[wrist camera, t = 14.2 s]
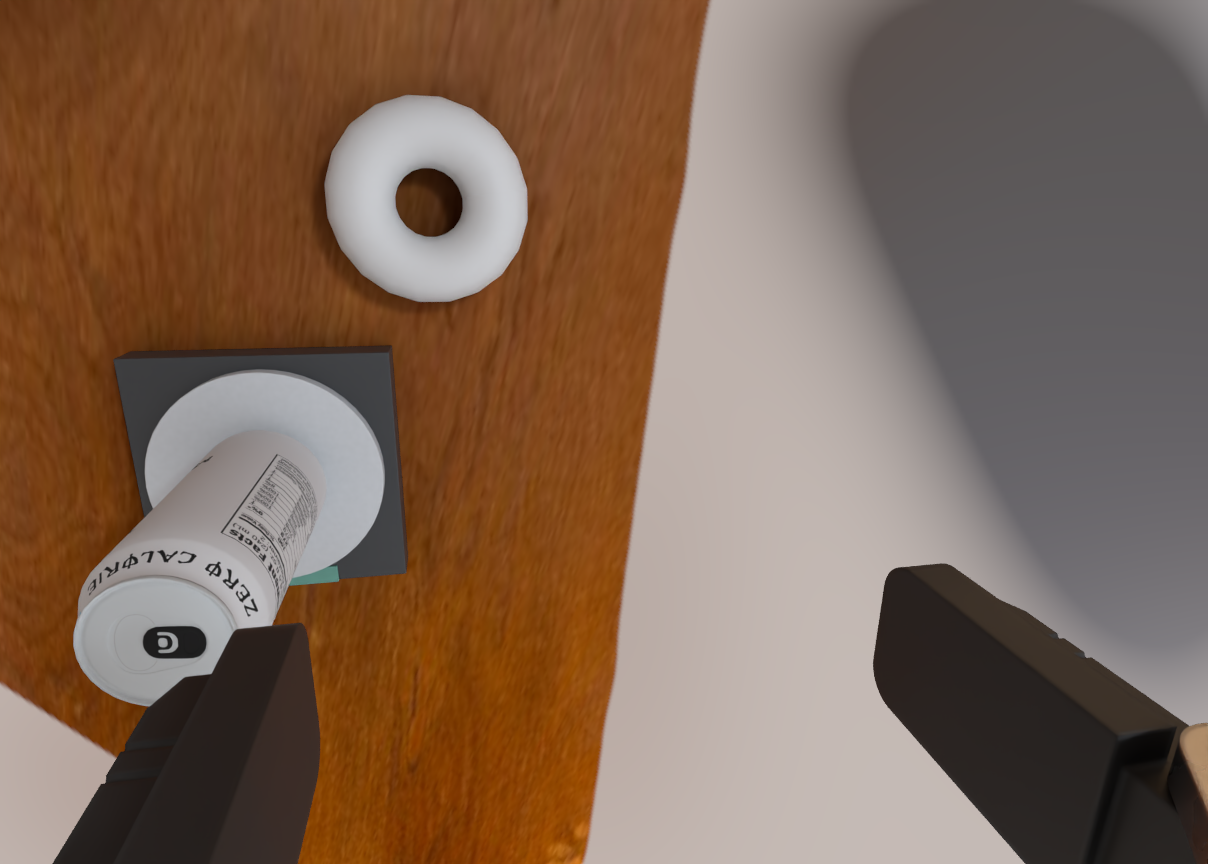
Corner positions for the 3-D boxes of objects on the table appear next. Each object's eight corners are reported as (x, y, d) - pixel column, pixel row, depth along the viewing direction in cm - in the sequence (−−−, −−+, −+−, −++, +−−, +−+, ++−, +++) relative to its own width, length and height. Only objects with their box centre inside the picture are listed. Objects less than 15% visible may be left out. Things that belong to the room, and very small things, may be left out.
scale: (130, 351, 36) (105, 362, 34) (391, 345, 39) (387, 355, 36) (172, 578, 40) (153, 603, 38) (408, 559, 43) (405, 582, 40)
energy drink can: (203, 421, 36) (40, 559, 21) (330, 427, 37) (255, 561, 23) (207, 531, 37) (60, 726, 23) (329, 533, 39) (259, 718, 25)
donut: (290, 155, 35) (396, 331, 39) (273, 148, 32) (390, 341, 36) (467, 65, 36) (557, 247, 39) (468, 49, 33) (566, 250, 36)
